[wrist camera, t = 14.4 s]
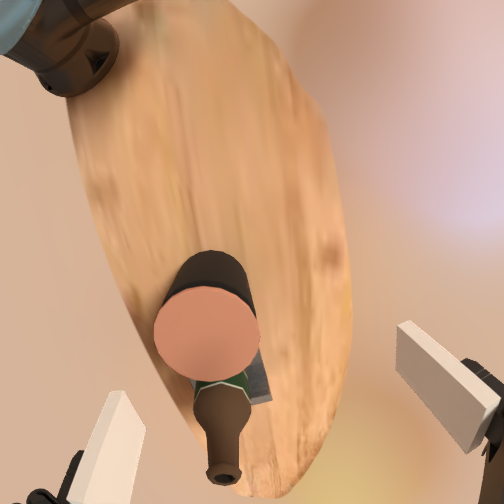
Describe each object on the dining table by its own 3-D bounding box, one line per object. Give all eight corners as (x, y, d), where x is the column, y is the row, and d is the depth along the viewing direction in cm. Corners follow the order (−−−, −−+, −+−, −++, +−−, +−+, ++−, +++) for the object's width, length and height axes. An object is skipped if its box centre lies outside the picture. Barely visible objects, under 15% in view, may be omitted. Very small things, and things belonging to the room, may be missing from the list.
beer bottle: (245, 380, 48) (260, 494, 25) (200, 380, 47) (191, 495, 24) (245, 342, 47) (263, 458, 23) (196, 342, 46) (181, 458, 22)
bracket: (173, 333, 47) (167, 354, 40) (250, 315, 47) (253, 334, 41) (198, 392, 50) (195, 415, 43) (267, 377, 50) (272, 400, 44)
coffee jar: (222, 326, 47) (222, 396, 30) (165, 290, 45) (135, 348, 28) (261, 273, 46) (282, 325, 28) (202, 234, 44) (187, 266, 26)
